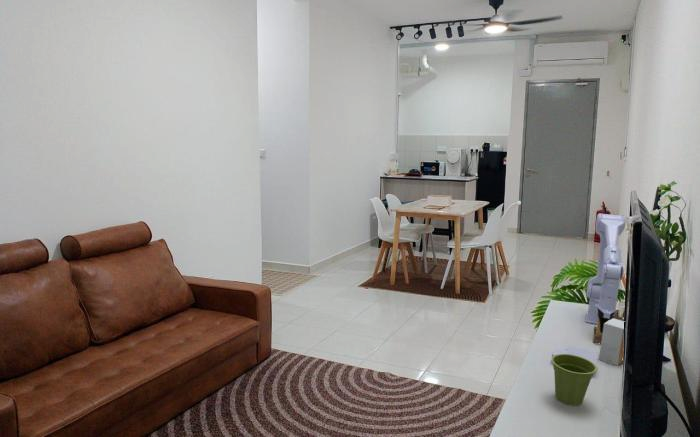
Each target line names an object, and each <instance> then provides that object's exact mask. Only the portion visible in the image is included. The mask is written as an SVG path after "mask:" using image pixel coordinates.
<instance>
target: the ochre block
mask: <svg viewBox="0 0 700 437" xmlns="http://www.w3.org/2000/svg"><path fill="white" fill-rule="evenodd" d="M596 327H597V330H596V334H597V335H602V334H603V333H601V332H600V321H599V317H598V322H597V324H596Z"/></svg>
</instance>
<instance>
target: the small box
mask: <svg viewBox="0 0 700 437" xmlns="http://www.w3.org/2000/svg"><path fill="white" fill-rule="evenodd" d="M624 322H625V321H624V320H621V319H617V318H615V319H614V318H613V319H611V320H609V321H607V322H606V323H604V327H603V334H602V341H601V344H600V348H599V352H598V353H599V354H598V360H600V361H602V362H606V363H608V364H611V365H615V366H617V365H618V366H619V365H620V364H621V363H623V362H622V358H623V333H624Z"/></svg>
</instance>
